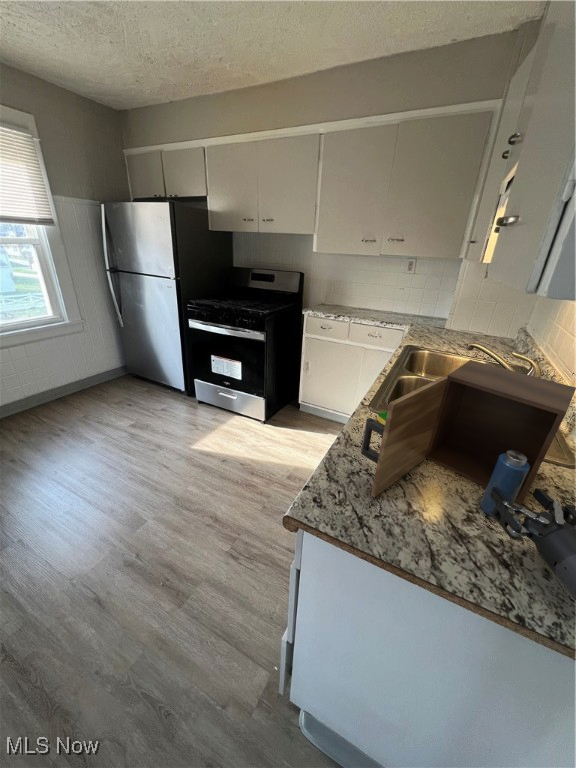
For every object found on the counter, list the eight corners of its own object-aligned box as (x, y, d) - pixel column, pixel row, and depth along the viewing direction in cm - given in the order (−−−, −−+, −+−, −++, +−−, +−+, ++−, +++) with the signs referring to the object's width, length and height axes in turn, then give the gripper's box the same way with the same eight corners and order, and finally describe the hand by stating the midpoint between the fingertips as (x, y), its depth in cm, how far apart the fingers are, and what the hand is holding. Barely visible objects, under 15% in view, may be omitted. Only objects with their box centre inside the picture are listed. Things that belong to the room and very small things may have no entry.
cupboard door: (350, 480, 74) (365, 391, 64) (402, 446, 87) (420, 368, 77) (374, 497, 69) (394, 404, 59) (424, 459, 82) (448, 377, 72)
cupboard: (521, 505, 69) (566, 411, 59) (424, 457, 83) (447, 375, 73) (535, 472, 80) (576, 387, 69) (447, 434, 94) (470, 359, 83)
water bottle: (510, 509, 68) (535, 456, 62) (503, 523, 65) (529, 468, 58) (483, 496, 71) (505, 444, 65) (476, 508, 68) (498, 454, 62)
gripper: (642, 554, 46) (557, 477, 61) (546, 551, 46) (484, 474, 61) (617, 585, 49) (542, 505, 64) (528, 583, 49) (473, 503, 64)
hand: (514, 490), depth 62 cm, fingers open, 8 cm apart
